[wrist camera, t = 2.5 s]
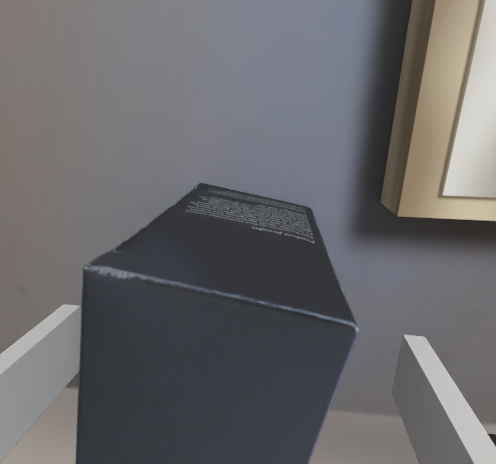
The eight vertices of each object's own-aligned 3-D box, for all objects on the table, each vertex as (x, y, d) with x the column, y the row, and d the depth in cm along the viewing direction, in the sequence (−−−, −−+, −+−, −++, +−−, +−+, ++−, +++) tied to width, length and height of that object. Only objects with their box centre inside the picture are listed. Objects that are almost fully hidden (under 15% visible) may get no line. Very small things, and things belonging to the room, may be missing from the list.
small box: (274, 370, 20) (265, 619, 10) (171, 345, 20) (61, 564, 10) (320, 206, 16) (379, 335, 6) (195, 179, 16) (62, 262, 6)
